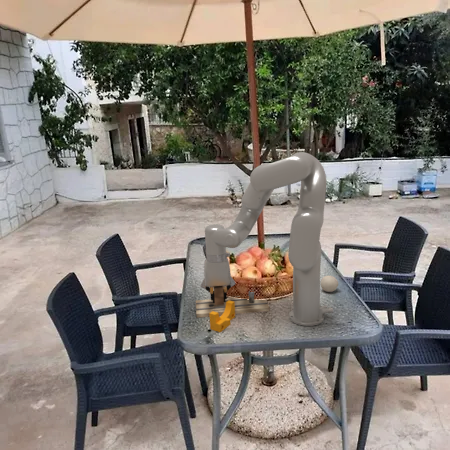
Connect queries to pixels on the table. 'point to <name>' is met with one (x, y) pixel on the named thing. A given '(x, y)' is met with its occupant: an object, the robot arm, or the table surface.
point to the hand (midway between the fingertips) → (219, 300)
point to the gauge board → (240, 306)
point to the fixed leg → (251, 297)
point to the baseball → (329, 283)
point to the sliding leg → (218, 295)
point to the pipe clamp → (222, 317)
